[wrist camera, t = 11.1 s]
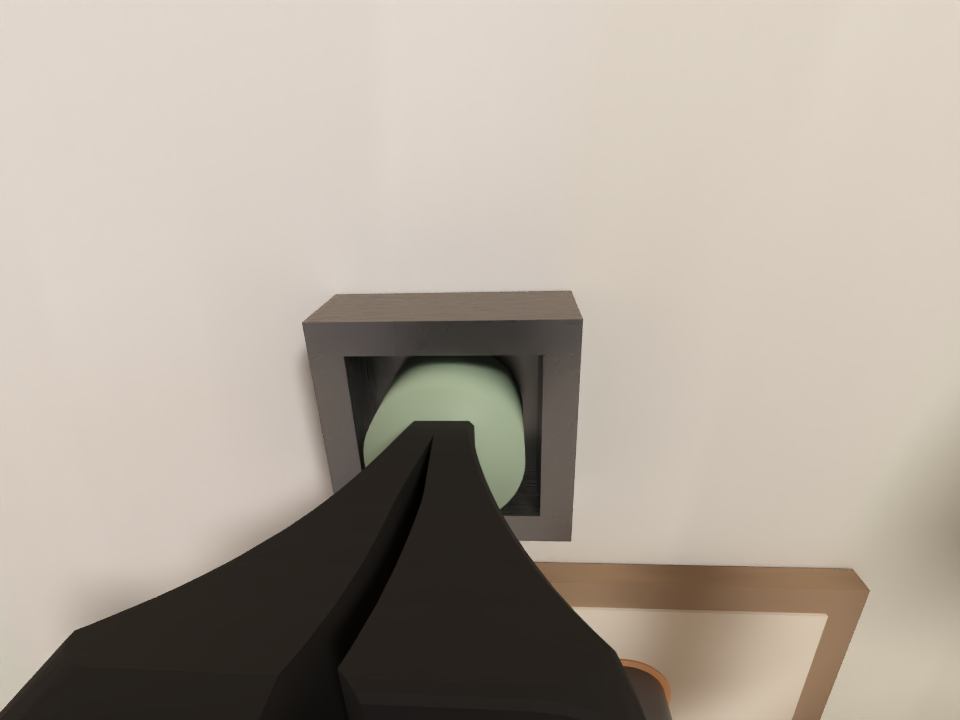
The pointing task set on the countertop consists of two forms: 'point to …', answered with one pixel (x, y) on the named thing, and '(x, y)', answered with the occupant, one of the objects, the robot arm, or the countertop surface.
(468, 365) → the button
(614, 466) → the countertop surface
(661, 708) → the marker
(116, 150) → the countertop surface
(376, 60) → the countertop surface
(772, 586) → the board
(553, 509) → the button housing
